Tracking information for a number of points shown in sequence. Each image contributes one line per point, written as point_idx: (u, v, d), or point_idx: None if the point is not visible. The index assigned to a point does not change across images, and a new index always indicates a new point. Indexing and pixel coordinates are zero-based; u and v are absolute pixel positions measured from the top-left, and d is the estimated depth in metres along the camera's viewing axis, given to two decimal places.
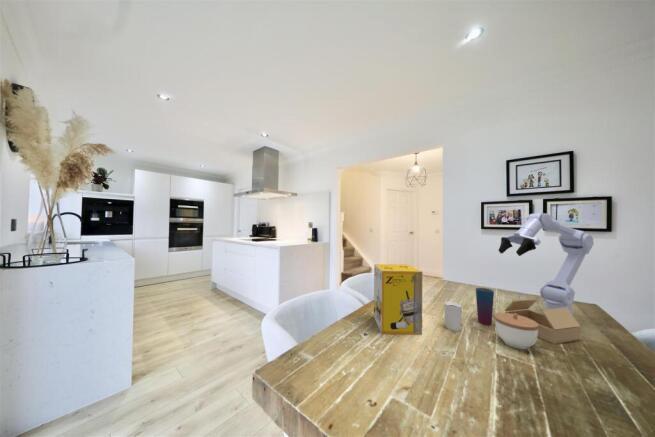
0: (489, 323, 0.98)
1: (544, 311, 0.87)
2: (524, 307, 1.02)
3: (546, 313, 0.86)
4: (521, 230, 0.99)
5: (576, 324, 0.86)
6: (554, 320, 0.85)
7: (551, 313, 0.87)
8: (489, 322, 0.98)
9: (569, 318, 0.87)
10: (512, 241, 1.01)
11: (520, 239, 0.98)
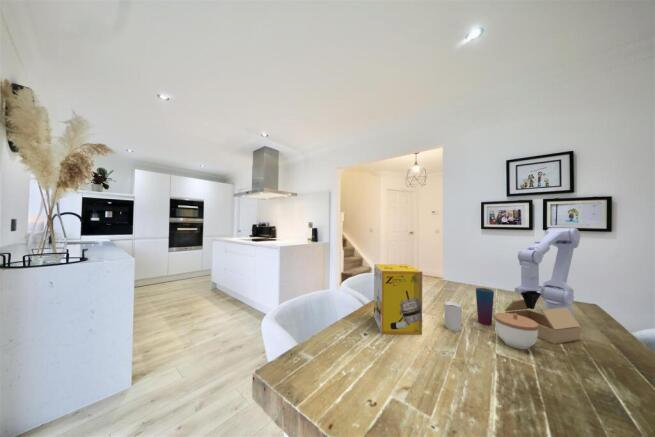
0: (489, 323, 0.98)
1: (544, 311, 0.87)
2: (524, 307, 1.02)
3: (546, 313, 0.86)
4: (537, 282, 0.95)
5: (576, 324, 0.86)
6: (554, 320, 0.85)
7: (551, 313, 0.87)
8: (489, 322, 0.98)
9: (569, 318, 0.87)
10: (525, 291, 0.97)
11: None
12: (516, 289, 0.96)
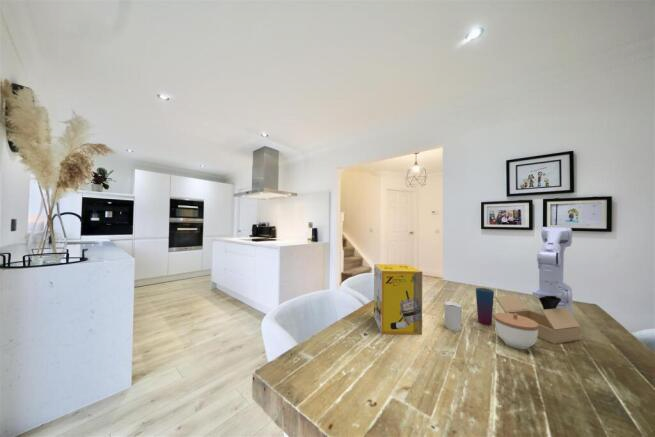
0: (489, 323, 0.98)
1: (544, 311, 0.87)
2: (519, 306, 1.04)
3: (546, 313, 0.86)
4: (557, 287, 0.88)
5: (576, 324, 0.86)
6: (554, 320, 0.85)
7: (551, 313, 0.87)
8: (489, 322, 0.98)
9: (569, 318, 0.87)
10: None
11: None
12: (534, 294, 0.89)
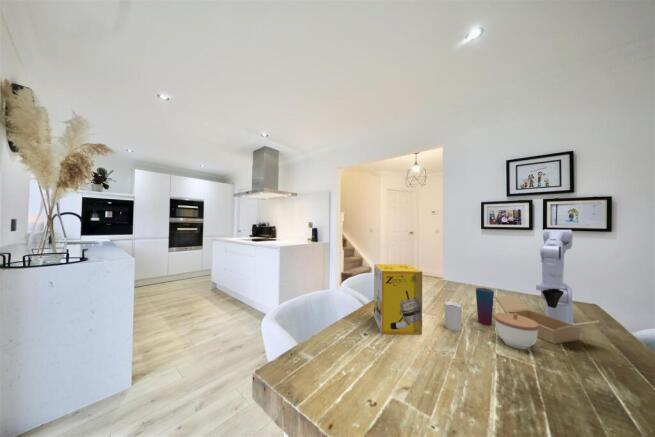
0: (489, 323, 0.98)
1: (572, 325, 0.79)
2: (519, 306, 1.04)
3: (570, 326, 0.79)
4: (560, 280, 0.90)
5: (578, 327, 0.85)
6: (567, 328, 0.82)
7: (575, 325, 0.80)
8: (489, 322, 0.98)
9: (583, 326, 0.83)
10: (546, 289, 0.93)
11: None
12: (537, 287, 0.92)
